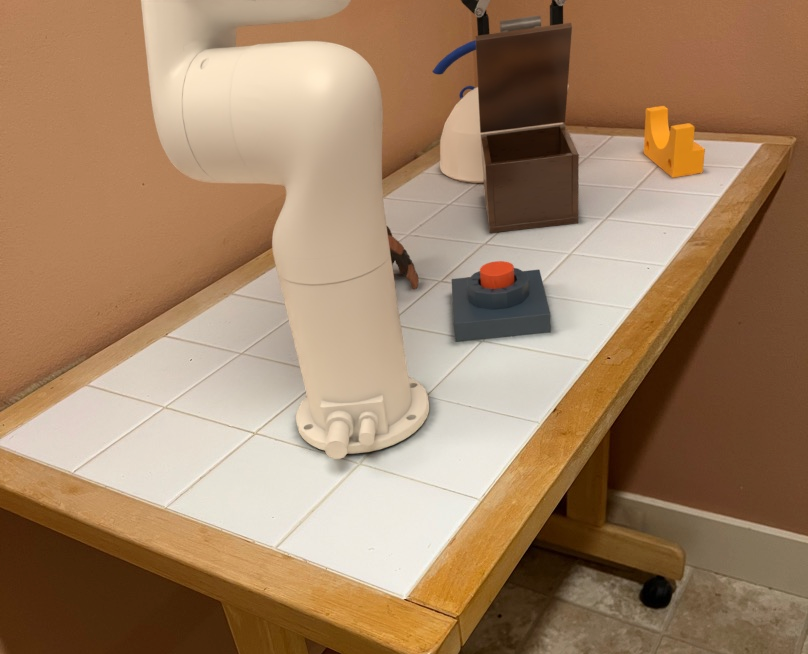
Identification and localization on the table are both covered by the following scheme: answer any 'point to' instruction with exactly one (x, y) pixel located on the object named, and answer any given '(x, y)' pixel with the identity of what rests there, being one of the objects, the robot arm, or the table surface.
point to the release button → (497, 275)
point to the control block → (500, 307)
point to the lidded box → (530, 178)
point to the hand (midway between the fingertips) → (520, 44)
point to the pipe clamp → (671, 144)
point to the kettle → (464, 129)
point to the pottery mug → (402, 259)
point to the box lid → (523, 74)
